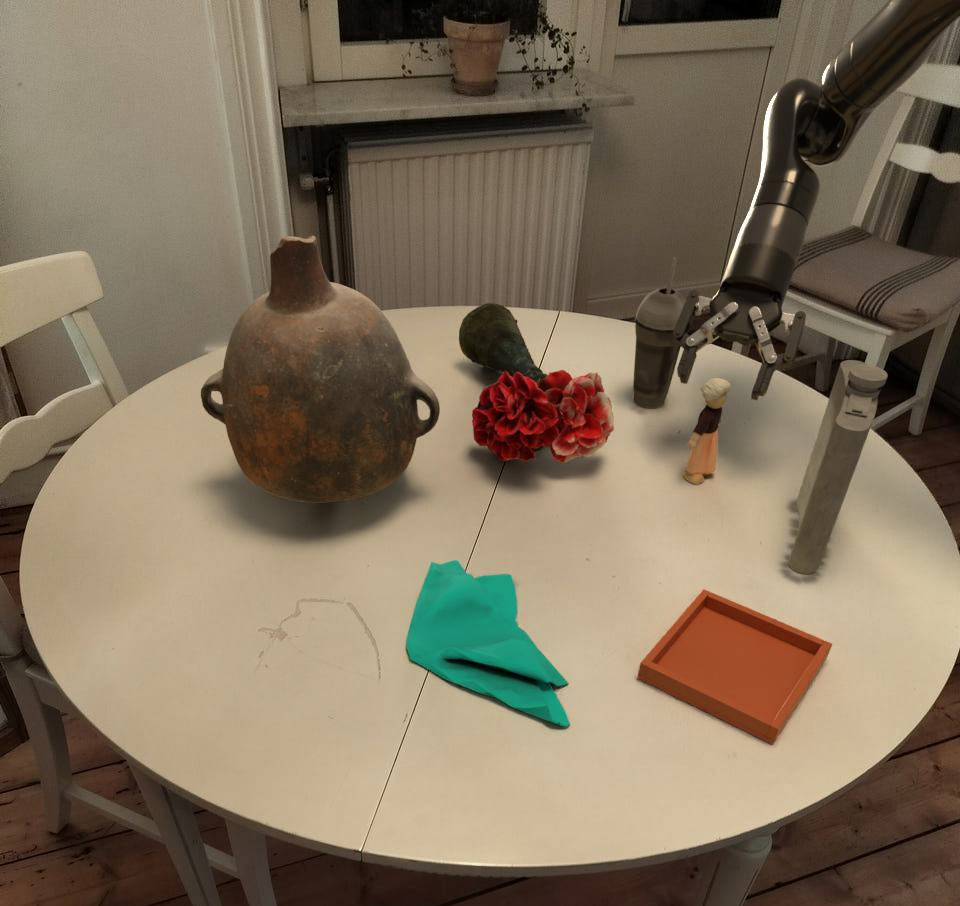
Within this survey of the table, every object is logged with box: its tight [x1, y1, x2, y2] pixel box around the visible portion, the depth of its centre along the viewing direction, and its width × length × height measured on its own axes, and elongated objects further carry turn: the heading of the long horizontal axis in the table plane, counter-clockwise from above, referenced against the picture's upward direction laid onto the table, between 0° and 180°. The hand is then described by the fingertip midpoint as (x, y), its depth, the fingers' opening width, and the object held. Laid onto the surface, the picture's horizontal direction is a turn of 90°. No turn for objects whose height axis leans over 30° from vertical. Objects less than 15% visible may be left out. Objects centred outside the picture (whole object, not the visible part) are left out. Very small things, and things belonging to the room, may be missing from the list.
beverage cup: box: [632, 257, 687, 409], centre depth 115 cm, size 7×7×20 cm
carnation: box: [458, 302, 615, 464], centre depth 113 cm, size 16×18×35 cm
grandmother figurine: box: [682, 377, 732, 485], centre depth 104 cm, size 8×4×13 cm, turn 155°
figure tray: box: [637, 588, 833, 745], centre depth 82 cm, size 14×14×2 cm
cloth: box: [405, 559, 571, 728], centre depth 84 cm, size 26×14×2 cm, turn 16°
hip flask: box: [787, 359, 889, 575], centre depth 92 cm, size 16×4×20 cm, turn 161°
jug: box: [200, 235, 441, 504], centre depth 94 cm, size 24×21×30 cm
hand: (718, 389), depth 101 cm, fingers open, 8 cm apart
